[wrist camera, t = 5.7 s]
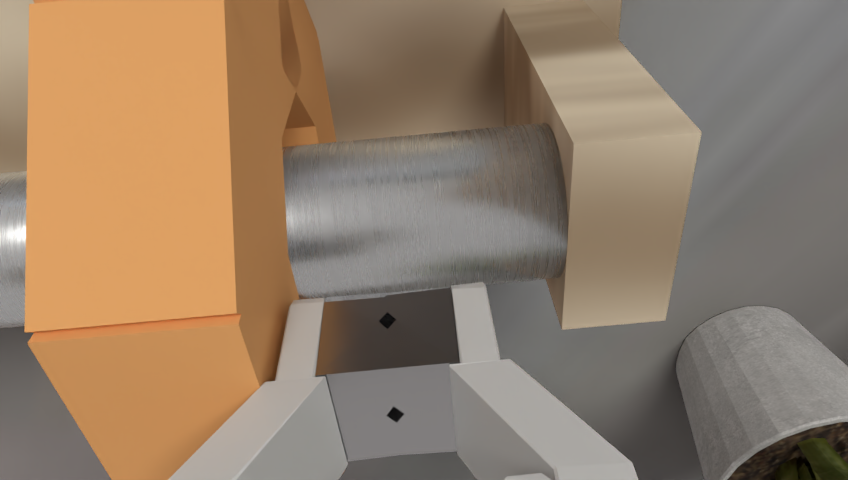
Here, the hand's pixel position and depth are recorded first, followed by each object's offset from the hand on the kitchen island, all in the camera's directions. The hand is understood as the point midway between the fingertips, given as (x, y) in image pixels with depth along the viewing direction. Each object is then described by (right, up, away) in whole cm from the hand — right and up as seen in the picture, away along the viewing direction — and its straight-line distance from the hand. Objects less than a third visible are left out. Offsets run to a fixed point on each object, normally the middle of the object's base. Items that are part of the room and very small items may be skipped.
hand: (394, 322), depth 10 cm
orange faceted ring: (-3, +4, +7) cm, 9 cm away
